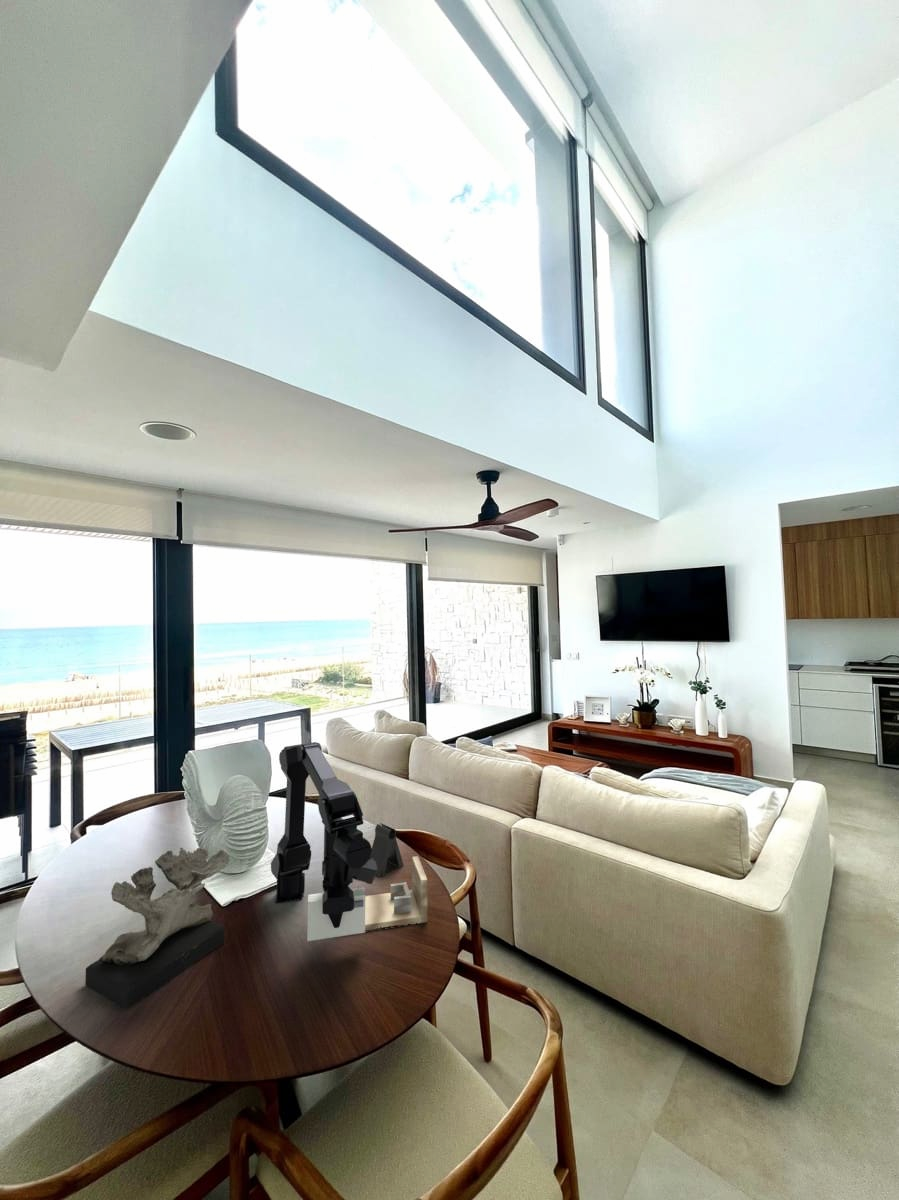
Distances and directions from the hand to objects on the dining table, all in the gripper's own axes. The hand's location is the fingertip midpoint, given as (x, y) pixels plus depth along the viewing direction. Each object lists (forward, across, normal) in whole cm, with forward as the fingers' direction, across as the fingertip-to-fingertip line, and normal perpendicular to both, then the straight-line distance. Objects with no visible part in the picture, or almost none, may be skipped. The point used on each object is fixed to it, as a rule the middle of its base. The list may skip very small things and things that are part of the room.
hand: (336, 922), depth 108 cm
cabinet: (+7, +13, -10) cm, 17 cm away
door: (+2, 0, 0) cm, 2 cm away
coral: (+7, +6, +33) cm, 34 cm away
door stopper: (+7, +35, -15) cm, 38 cm away
